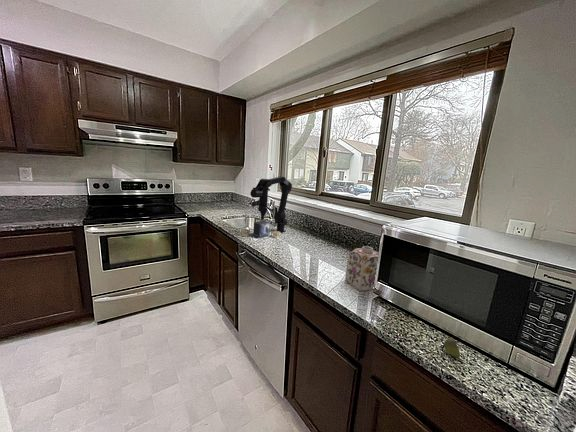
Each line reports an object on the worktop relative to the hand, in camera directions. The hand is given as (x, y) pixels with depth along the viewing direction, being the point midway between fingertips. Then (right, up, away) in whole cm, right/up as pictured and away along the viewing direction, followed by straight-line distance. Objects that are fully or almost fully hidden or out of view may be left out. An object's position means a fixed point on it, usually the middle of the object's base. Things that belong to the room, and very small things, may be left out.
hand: (262, 218), depth 175 cm
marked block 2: (+10, -14, +4) cm, 17 cm away
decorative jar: (+53, -30, -61) cm, 86 cm away
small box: (-1, -13, +3) cm, 13 cm away
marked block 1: (-12, -12, +1) cm, 17 cm away
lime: (+67, -39, -103) cm, 129 cm away
